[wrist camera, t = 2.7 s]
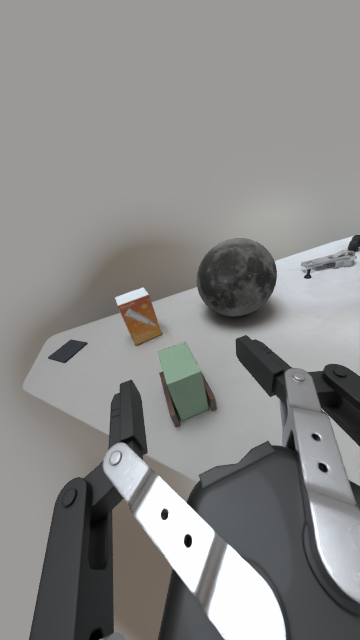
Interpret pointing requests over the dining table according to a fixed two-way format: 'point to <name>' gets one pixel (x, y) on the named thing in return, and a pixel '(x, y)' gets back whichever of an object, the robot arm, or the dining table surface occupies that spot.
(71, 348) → the rubber mat
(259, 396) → the dining table surface
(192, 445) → the dining table surface
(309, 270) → the chess pawn
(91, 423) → the dining table surface
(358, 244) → the toy vehicle
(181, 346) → the green rectangular block
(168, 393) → the u-shaped bracket
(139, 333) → the small box
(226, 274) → the decorative sphere
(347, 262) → the zipper pull
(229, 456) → the dining table surface
